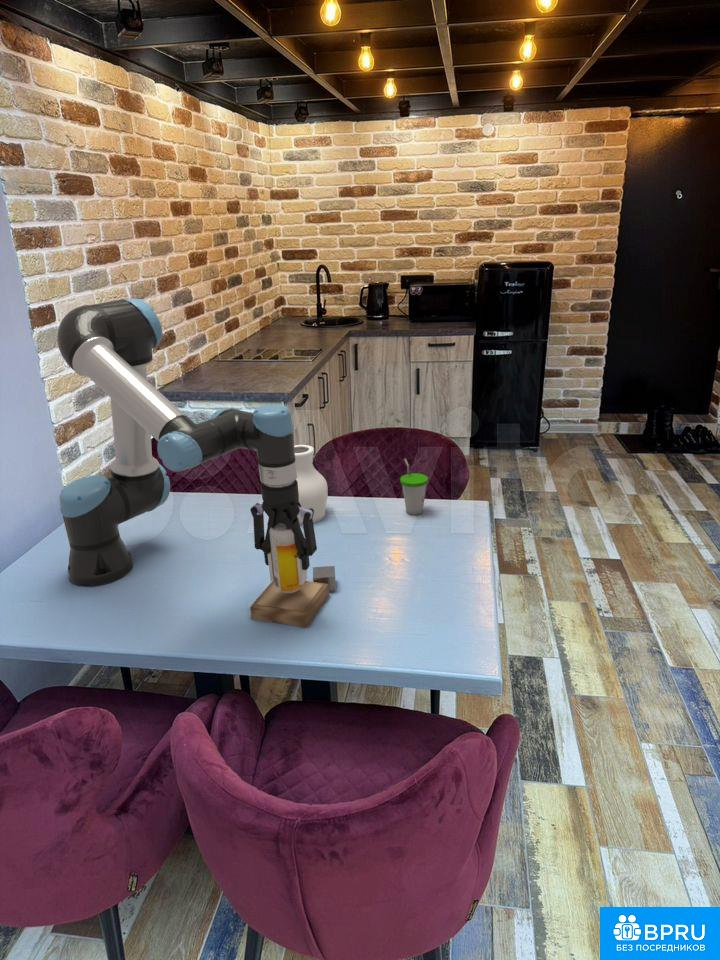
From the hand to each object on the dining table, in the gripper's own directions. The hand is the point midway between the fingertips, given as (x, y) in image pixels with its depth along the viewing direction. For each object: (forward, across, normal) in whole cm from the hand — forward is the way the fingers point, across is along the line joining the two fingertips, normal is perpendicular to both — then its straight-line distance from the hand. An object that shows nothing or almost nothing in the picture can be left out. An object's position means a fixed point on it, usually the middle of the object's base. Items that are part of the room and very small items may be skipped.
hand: (288, 579), depth 148 cm
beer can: (+2, 0, 0) cm, 2 cm away
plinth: (+7, 0, 0) cm, 7 cm away
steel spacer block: (+7, +4, +10) cm, 13 cm away
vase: (+7, -16, +45) cm, 48 cm away
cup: (+7, +14, +54) cm, 56 cm away
